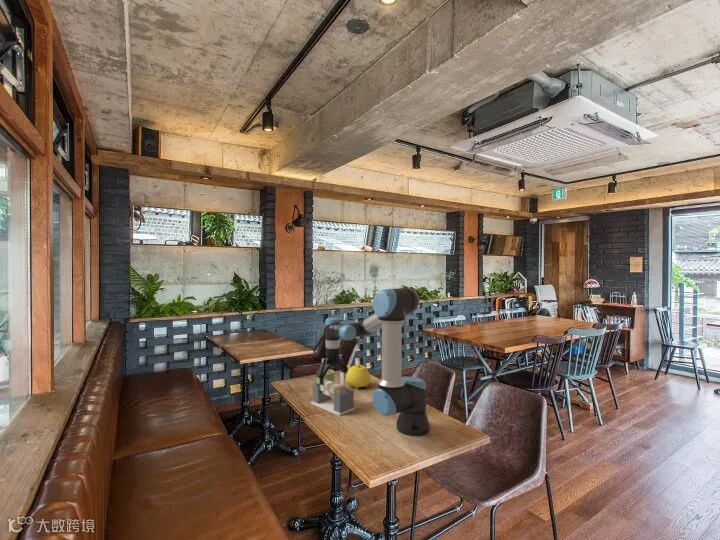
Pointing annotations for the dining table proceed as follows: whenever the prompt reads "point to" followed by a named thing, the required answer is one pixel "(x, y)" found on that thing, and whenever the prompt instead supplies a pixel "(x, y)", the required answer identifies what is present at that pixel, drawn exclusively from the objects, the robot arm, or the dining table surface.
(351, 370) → the teapot
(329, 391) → the rail
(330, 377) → the mug
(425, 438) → the dining table surface
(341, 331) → the robot arm
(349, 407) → the bracket board
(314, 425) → the dining table surface
